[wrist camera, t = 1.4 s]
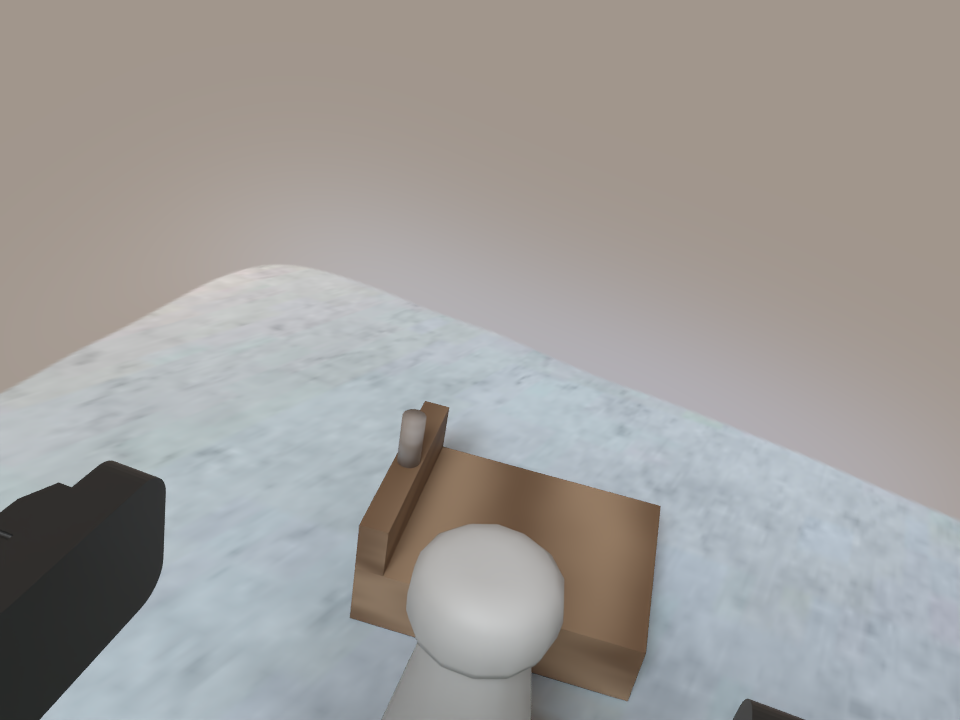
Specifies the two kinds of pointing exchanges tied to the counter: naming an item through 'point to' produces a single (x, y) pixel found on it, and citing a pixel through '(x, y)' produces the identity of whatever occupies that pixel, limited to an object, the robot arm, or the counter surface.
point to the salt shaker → (478, 625)
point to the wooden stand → (529, 510)
